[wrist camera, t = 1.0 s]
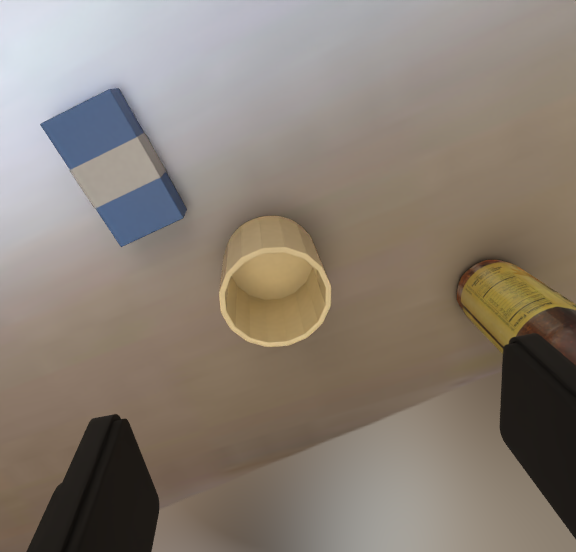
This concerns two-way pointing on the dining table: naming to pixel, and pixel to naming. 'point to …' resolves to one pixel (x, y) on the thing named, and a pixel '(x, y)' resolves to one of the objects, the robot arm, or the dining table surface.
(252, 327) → the beige cup
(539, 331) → the sauce bottle
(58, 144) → the block
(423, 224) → the dining table surface
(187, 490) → the dining table surface
